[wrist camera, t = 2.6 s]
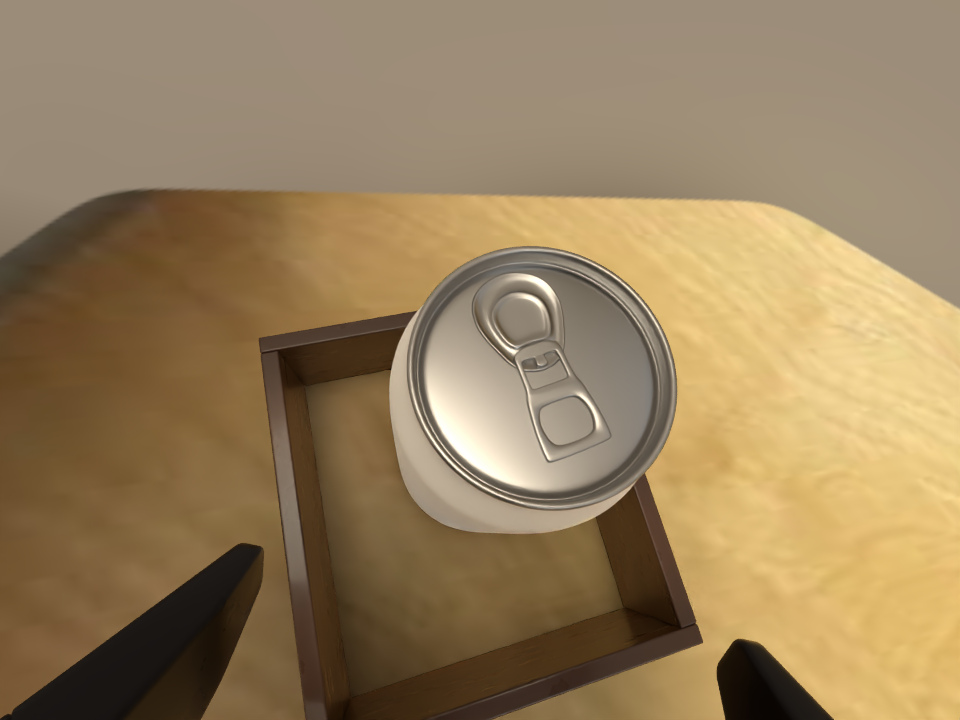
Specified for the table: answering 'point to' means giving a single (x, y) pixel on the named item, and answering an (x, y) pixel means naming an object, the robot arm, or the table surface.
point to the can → (529, 393)
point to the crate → (489, 677)
